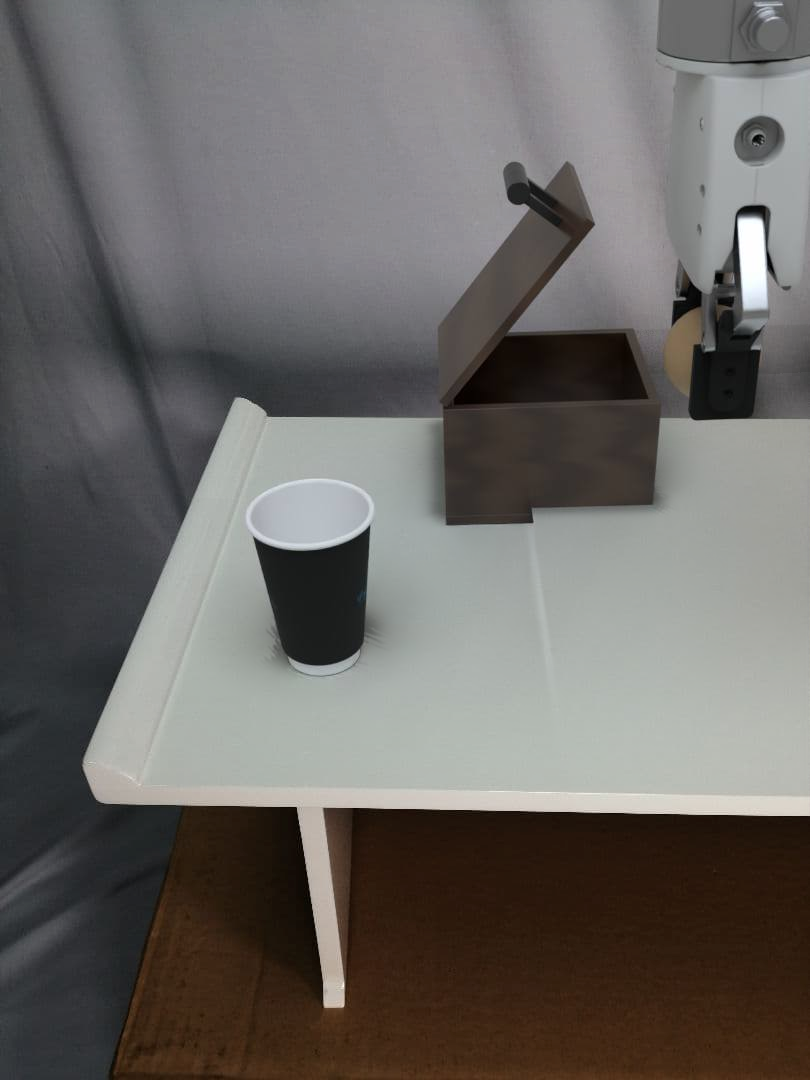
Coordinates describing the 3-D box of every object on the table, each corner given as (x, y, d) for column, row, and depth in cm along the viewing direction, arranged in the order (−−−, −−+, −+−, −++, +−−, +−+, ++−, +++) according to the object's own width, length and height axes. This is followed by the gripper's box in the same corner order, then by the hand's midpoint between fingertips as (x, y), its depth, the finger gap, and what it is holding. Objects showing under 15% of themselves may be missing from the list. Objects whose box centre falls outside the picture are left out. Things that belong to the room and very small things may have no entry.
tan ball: (744, 374, 64) (754, 287, 62) (767, 416, 60) (778, 325, 58) (653, 378, 65) (658, 292, 62) (668, 420, 61) (675, 330, 58)
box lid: (574, 166, 88) (520, 125, 86) (595, 224, 77) (534, 178, 75) (444, 331, 96) (393, 297, 94) (446, 407, 84) (388, 369, 83)
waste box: (626, 435, 100) (633, 327, 95) (651, 519, 89) (661, 403, 84) (443, 440, 101) (440, 334, 96) (445, 525, 90) (442, 409, 84)
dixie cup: (408, 656, 76) (401, 512, 70) (307, 709, 73) (291, 562, 67) (338, 602, 82) (326, 464, 76) (240, 648, 78) (219, 507, 72)
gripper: (892, 59, 45) (826, 469, 55) (779, -12, 59) (743, 325, 69) (695, 70, 45) (665, 476, 55) (630, -3, 60) (615, 331, 70)
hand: (709, 388), depth 62 cm, fingers closed on tan ball, 4 cm apart
